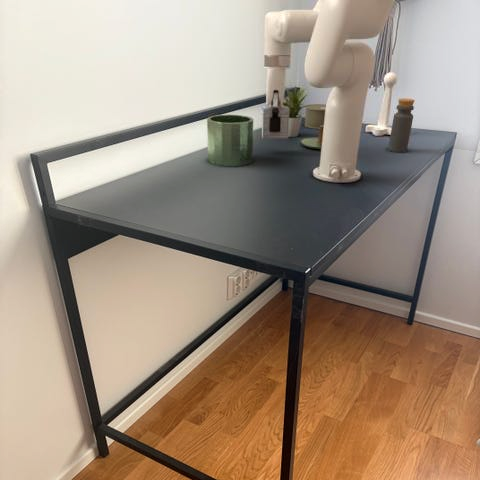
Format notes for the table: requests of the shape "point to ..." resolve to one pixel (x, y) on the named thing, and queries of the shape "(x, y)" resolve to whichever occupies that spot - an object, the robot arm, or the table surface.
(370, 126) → the joystick
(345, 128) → the robot arm
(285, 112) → the medicine box
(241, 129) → the pot
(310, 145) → the lid
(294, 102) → the house plant
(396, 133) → the bottle
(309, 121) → the can
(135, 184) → the table surface
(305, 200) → the table surface
